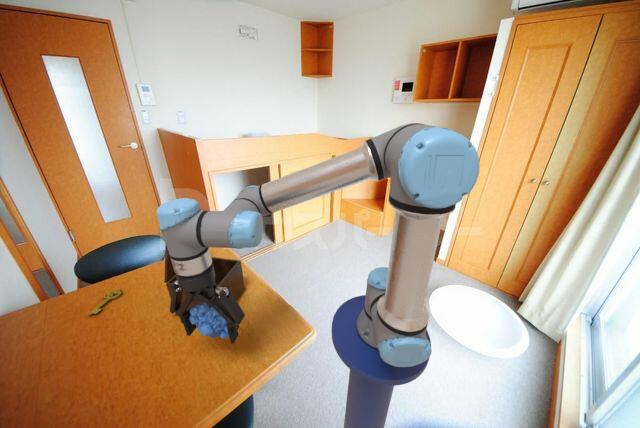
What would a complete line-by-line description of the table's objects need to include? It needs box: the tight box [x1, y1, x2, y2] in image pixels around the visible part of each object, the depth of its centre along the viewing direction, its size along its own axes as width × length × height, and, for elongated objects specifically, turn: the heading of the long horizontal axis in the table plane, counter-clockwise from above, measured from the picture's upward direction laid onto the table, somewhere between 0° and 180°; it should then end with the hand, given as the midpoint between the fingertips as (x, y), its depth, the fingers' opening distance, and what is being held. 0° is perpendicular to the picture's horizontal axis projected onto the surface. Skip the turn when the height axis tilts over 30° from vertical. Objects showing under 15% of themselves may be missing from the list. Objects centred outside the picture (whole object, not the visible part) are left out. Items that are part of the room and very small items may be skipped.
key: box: [88, 289, 122, 316], centre depth 87 cm, size 12×1×5 cm
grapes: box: [189, 302, 229, 339], centre depth 60 cm, size 12×7×12 cm, turn 85°
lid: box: [163, 245, 176, 284], centre depth 80 cm, size 19×17×1 cm
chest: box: [165, 256, 246, 316], centre depth 86 cm, size 18×17×14 cm
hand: (213, 335), depth 62 cm, fingers closed on grapes, 12 cm apart
